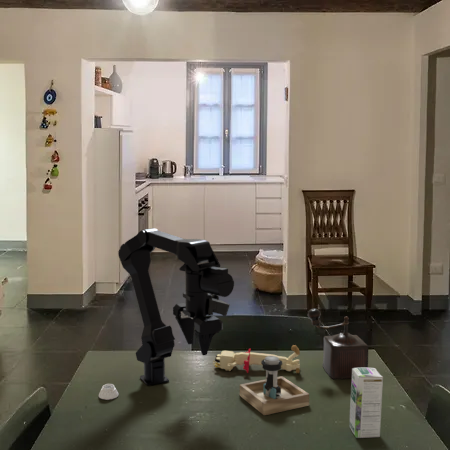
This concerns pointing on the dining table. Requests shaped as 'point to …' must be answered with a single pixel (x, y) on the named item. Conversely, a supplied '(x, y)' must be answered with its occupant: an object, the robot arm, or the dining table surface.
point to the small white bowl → (108, 392)
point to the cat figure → (254, 360)
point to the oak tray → (268, 405)
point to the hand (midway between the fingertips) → (197, 349)
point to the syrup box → (366, 402)
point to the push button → (271, 376)
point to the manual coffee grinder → (341, 349)
